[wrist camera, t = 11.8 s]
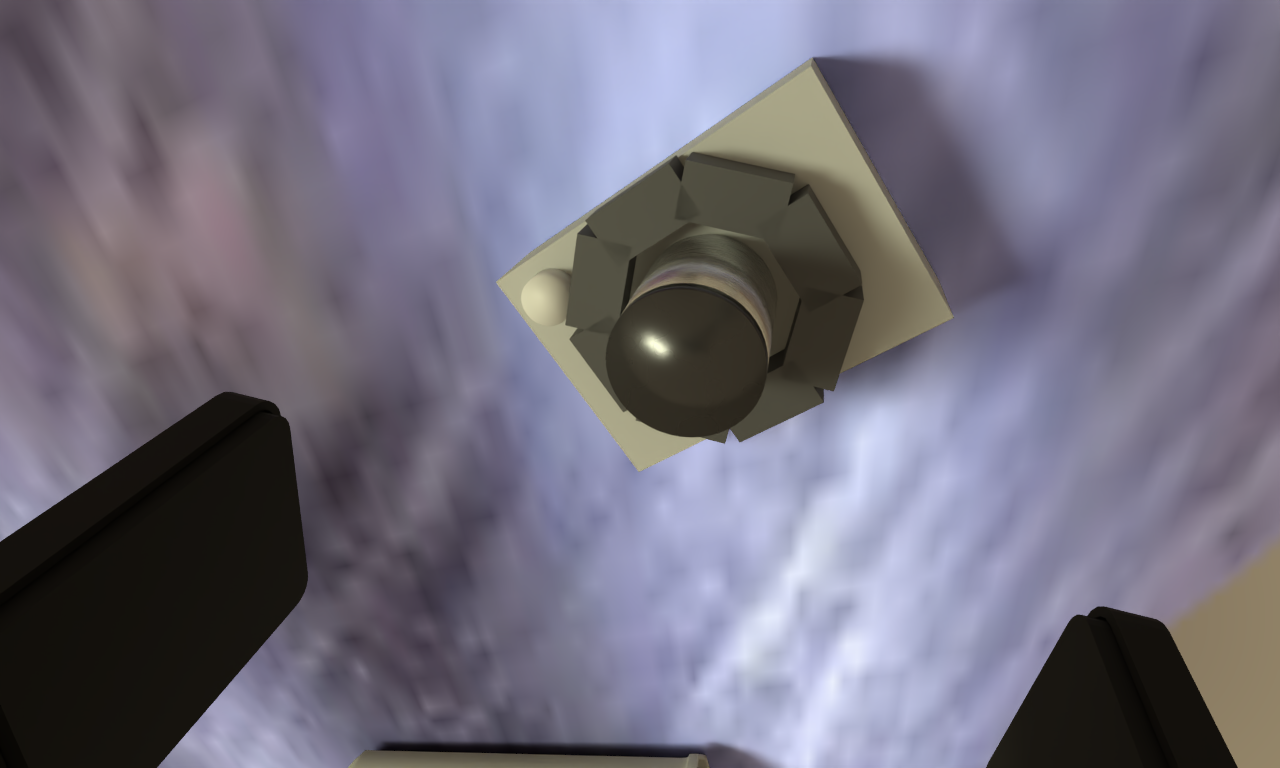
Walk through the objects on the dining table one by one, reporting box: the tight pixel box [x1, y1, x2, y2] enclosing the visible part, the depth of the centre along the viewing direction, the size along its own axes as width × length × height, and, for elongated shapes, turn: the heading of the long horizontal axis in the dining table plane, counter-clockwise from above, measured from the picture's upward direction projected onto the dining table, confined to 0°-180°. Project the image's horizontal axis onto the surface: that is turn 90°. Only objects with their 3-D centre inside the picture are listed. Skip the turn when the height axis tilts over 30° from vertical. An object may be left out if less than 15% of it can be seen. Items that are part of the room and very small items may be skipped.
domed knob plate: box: [496, 58, 954, 472], centre depth 30 cm, size 14×10×6 cm
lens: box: [606, 234, 777, 437], centre depth 26 cm, size 5×5×6 cm
